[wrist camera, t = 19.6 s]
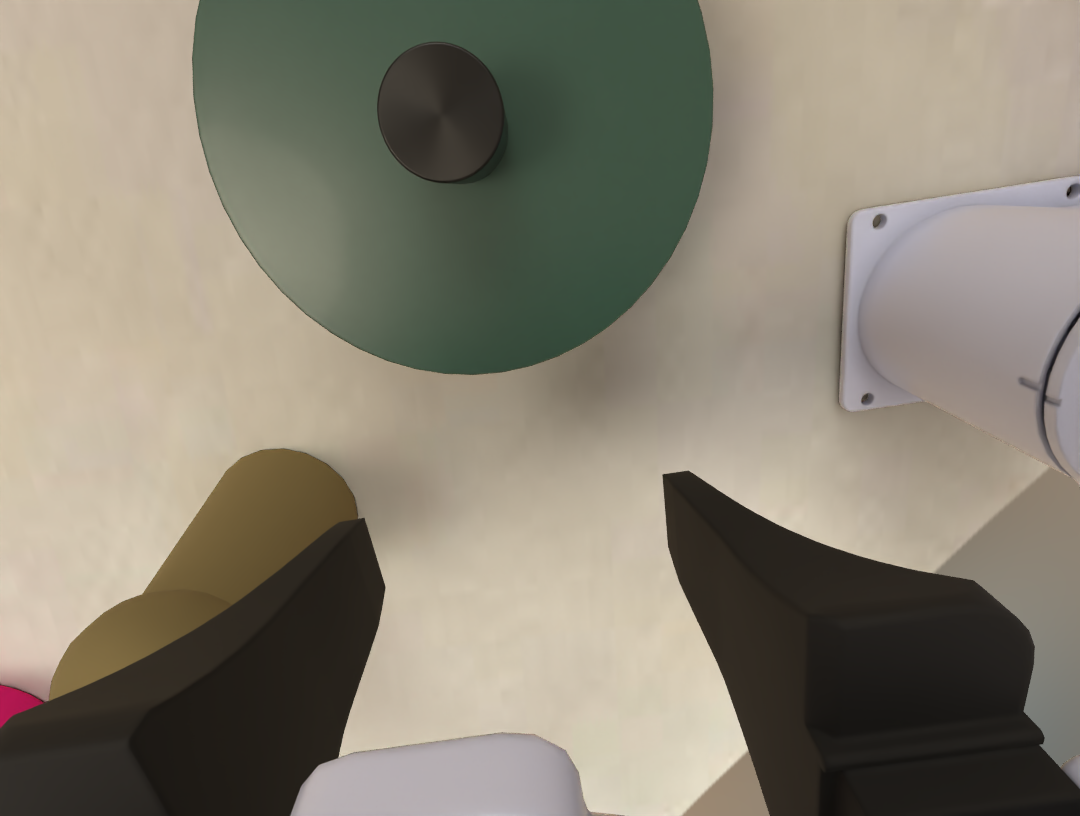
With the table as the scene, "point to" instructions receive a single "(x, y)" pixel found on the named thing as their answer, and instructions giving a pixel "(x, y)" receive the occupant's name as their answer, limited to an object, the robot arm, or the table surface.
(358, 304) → the lid
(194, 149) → the table surface
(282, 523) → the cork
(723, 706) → the table surface
